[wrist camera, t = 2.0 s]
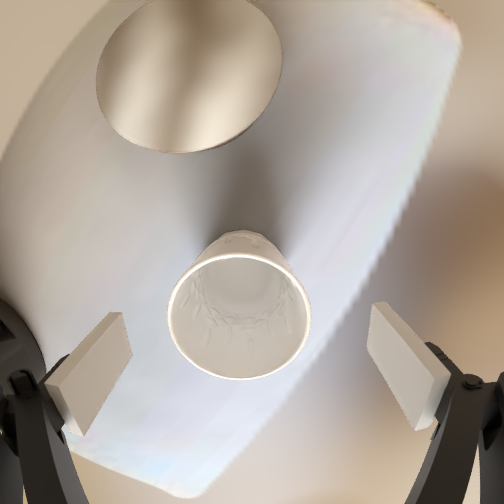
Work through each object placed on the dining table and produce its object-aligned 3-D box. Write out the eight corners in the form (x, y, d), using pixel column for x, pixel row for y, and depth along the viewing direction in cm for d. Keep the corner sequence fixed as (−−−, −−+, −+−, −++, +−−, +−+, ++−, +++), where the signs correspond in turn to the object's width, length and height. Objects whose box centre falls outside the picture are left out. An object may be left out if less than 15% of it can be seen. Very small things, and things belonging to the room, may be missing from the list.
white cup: (195, 221, 24) (162, 250, 15) (291, 223, 24) (318, 254, 15) (197, 308, 26) (173, 376, 17) (285, 311, 26) (303, 380, 17)
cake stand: (125, 166, 23) (95, 164, 18) (127, 35, 20) (104, 10, 14) (279, 152, 23) (288, 145, 18) (270, 17, 20) (274, -16, 14)
